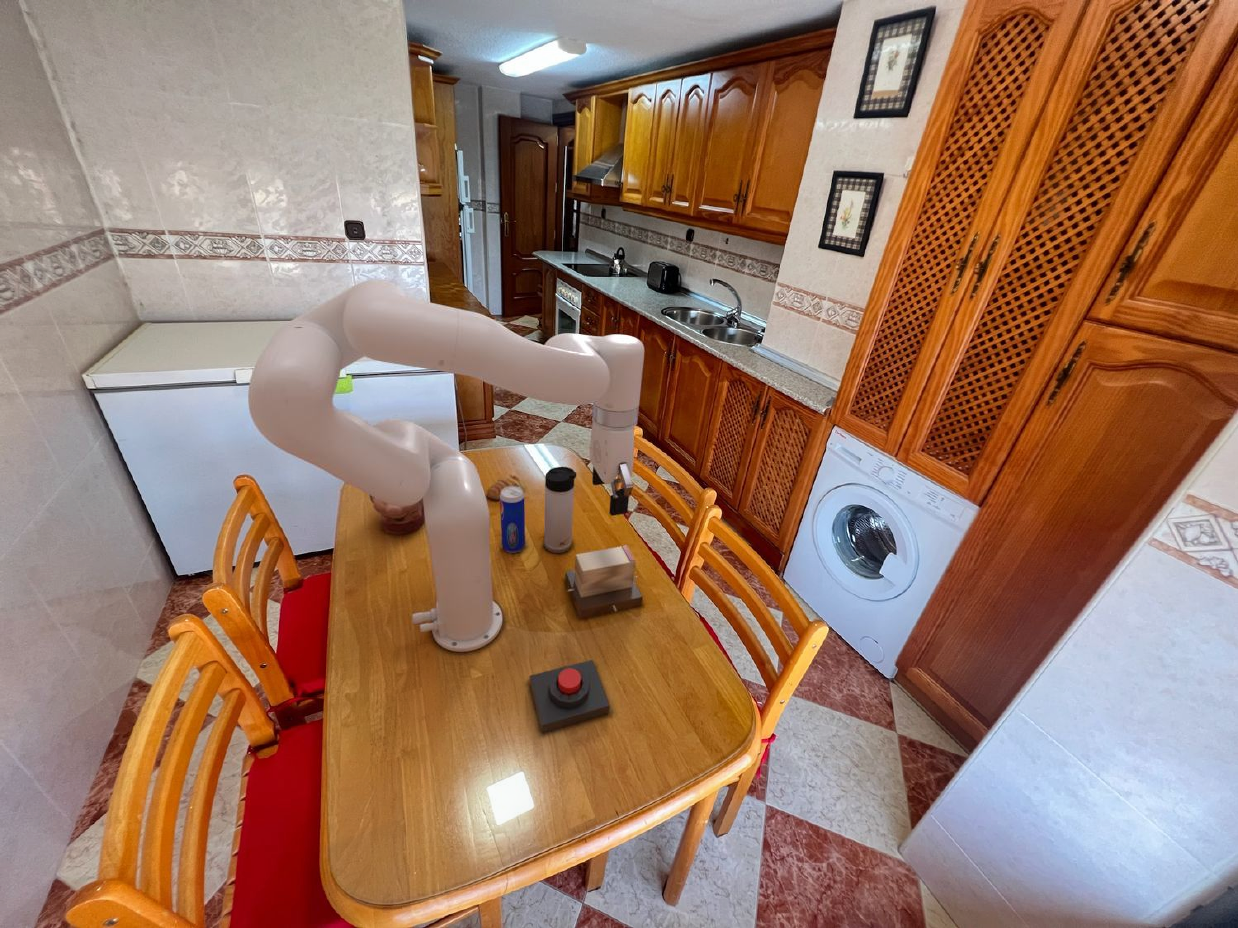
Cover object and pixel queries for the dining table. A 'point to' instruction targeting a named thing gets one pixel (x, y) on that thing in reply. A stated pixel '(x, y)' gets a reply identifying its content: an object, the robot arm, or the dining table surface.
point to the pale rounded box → (604, 571)
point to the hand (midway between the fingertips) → (609, 497)
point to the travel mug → (559, 509)
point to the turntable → (602, 599)
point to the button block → (568, 697)
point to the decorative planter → (400, 516)
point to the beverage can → (512, 519)
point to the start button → (569, 681)
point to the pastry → (503, 486)
